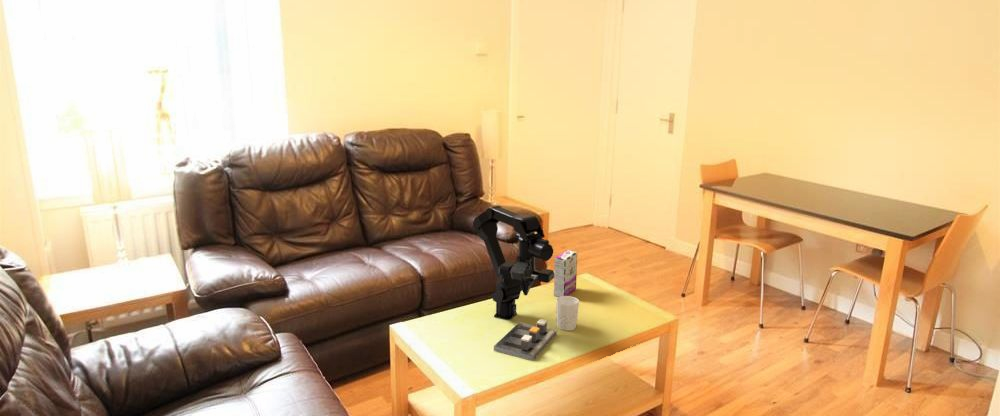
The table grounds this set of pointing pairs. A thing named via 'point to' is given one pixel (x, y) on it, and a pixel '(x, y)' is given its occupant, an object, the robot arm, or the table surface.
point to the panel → (513, 342)
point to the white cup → (567, 312)
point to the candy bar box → (565, 273)
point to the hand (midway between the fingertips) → (525, 295)
